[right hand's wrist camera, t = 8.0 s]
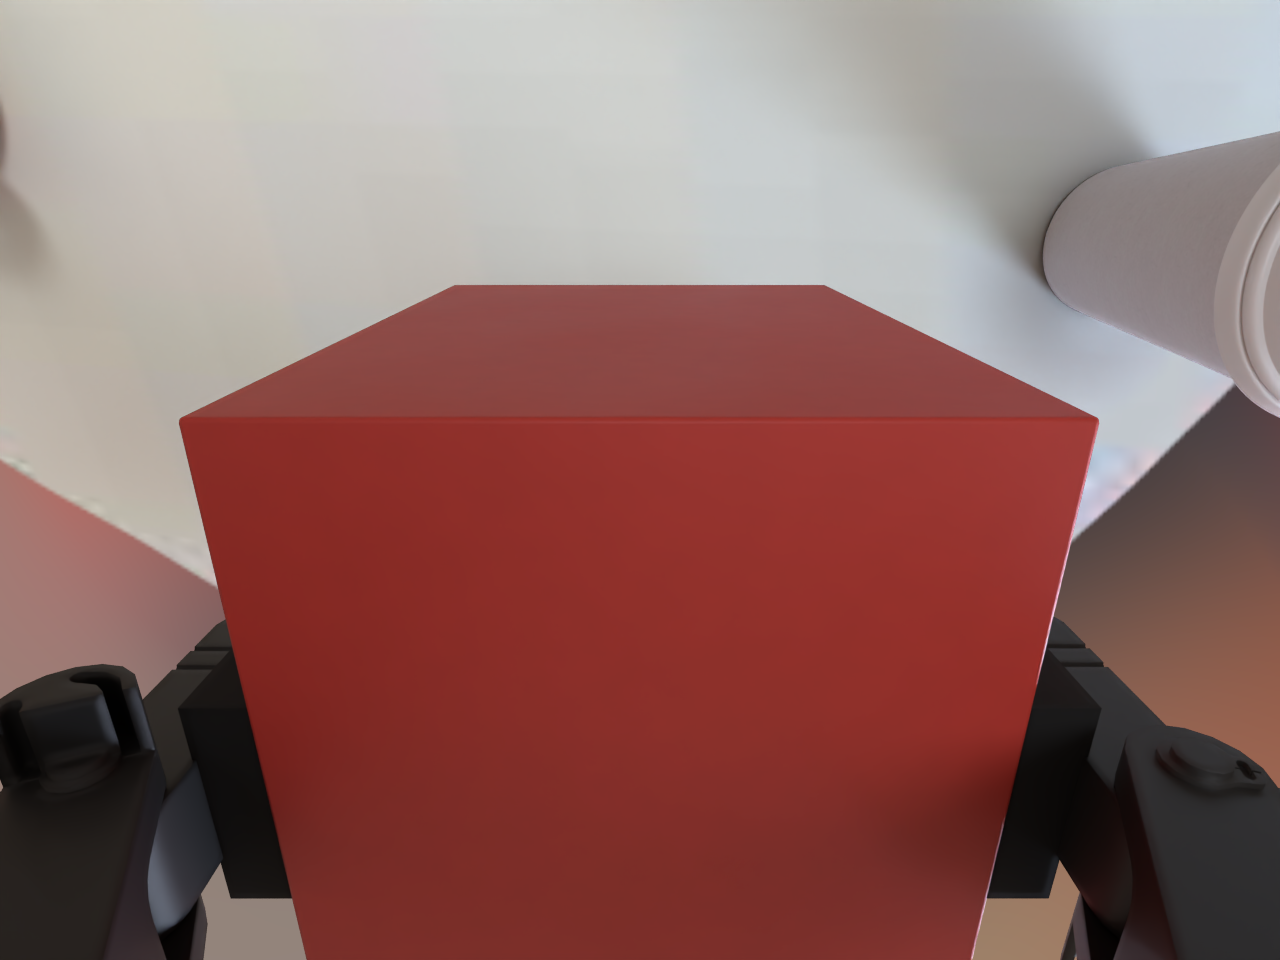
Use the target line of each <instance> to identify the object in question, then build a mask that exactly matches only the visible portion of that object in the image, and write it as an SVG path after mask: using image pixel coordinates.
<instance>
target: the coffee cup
mask: <svg viewBox="0 0 1280 960" xmlns="http://www.w3.org/2000/svg"><path fill="white" fill-rule="evenodd" d="M1043 266H1044V271H1045V275H1046V279H1047V281H1048V283H1049V286H1050V287H1051V289H1052V291H1053V292H1054V294H1055V295H1056V296H1057V297H1058V298H1059V299H1060V300H1061V301H1062V302H1063V303H1064V304H1066V305H1067V306H1069V307H1070V308H1072V309H1074V310H1076V311H1078V312H1081V313H1083V314H1085V315H1088V316H1090V317H1092V318H1094V319H1097V320H1099V321H1101V322H1104V323H1106V324H1108V325H1111V326H1113V327H1115V328H1118V329H1120V330H1122V331H1124V332H1127V333H1129V334H1131V335H1134V336H1136V337H1138V338H1141V339H1143V340H1145V341H1147V342H1150V343H1152V344H1154V345H1157V346H1159V347H1161V348H1163V349H1166V350H1168V351H1170V352H1173V353H1175V354H1177V355H1179V356H1182V357H1184V358H1186V359H1189V360H1191V361H1193V362H1195V363H1198V364H1200V365H1202V366H1204V367H1207V368H1209V369H1211V370H1213V371H1216V372H1218V373H1220V374H1222V375H1225V376H1227V377H1229V378H1231V379H1233V381H1234V382H1235V384H1236V385H1237V386H1238V388H1239V389H1240V390H1241V391H1242V392H1243V393H1244V394H1245V395H1246V396H1247V397H1248V398H1249V399H1250V400H1251V401H1253V402H1254V403H1255V404H1257V405H1258V406H1259V407H1261V408H1262V409H1264V410H1266V411H1267V412H1269V413H1271V414H1273V415H1275V416H1278V417H1280V132H1275V133H1270V134H1266V135H1261V136H1257V137H1252V138H1247V139H1243V140H1238V141H1233V142H1229V143H1224V144H1219V145H1215V146H1210V147H1205V148H1201V149H1196V150H1191V151H1186V152H1182V153H1177V154H1172V155H1168V156H1163V157H1158V158H1154V159H1149V160H1144V161H1139V162H1135V163H1130V164H1125V165H1121V166H1117V167H1113V168H1110V169H1107V170H1104V171H1102V172H1100V173H1097V174H1095V175H1094V176H1092V177H1090V178H1089V179H1087V180H1086V181H1084V182H1083V183H1082V184H1080V185H1079V186H1078V187H1077V188H1076V189H1074V190H1073V191H1072V192H1071V193H1070V194H1069V195H1068V197H1067V198H1066V199H1065V200H1064V201H1063V203H1062V204H1061V205H1060V207H1059V208H1058V210H1057V211H1056V213H1055V215H1054V217H1053V219H1052V221H1051V223H1050V225H1049V228H1048V230H1047V234H1046V237H1045V241H1044V248H1043Z"/></svg>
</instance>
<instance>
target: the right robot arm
mask: <svg viewBox="0 0 1280 960" xmlns="http://www.w3.org/2000/svg"><path fill="white" fill-rule="evenodd" d="M0 780H1V783H2V785H3V789H2V791H1V792H0V960H203V958H204V950H205V941H206V933H207V918H206V912H205V907H204V904H203V900H202V897H201V893H202V891H203V890H204V888H205V886H206V885H207V883H208V882H209V880H210V879H211V877H212V875H213V874H214V872H215V871H216V869H217V867H218V866H219V864H220V863H221V865H222V869H223V872H224V876H225V880H226V883H227V886H228V890H229V894H230V897H231V898H292V896H291V891H290V887H289V883H288V879H287V875H286V870H285V866H284V862H283V858H282V854H281V849H280V845H279V841H278V837H277V833H276V828H275V824H274V820H273V816H272V812H271V807H270V803H269V799H268V795H267V791H266V786H265V782H264V778H263V774H262V770H261V765H260V761H259V757H258V753H257V749H256V744H255V740H254V736H253V732H252V728H251V723H250V719H249V715H248V711H247V707H246V702H245V698H244V694H243V690H242V686H241V681H240V677H239V673H238V669H237V665H236V660H235V656H234V652H233V648H232V644H231V639H230V635H229V631H228V627H227V623H226V620H224V621H222V622H220V623H219V624H217V625H216V626H215V627H214V628H213V629H212V630H211V631H210V632H209V633H208V634H207V635H206V636H205V637H204V638H203V639H202V640H201V641H200V642H199V643H198V644H197V645H196V646H195V650H194V651H190V652H189V653H188V654H187V655H186V656H185V657H184V658H183V659H182V660H181V661H180V662H179V663H178V664H177V669H176V670H171V671H170V672H169V673H168V674H167V675H166V677H165V678H164V679H163V680H162V681H161V682H160V683H159V684H158V685H157V686H156V687H155V688H154V689H153V690H152V691H151V692H150V693H149V694H148V695H147V696H146V697H145V698H144V699H143V700H142V697H141V693H140V690H139V687H138V683H137V680H136V676H135V674H134V673H132V672H131V671H129V670H127V669H126V668H124V667H123V666H114V665H106V664H99V665H90V666H82V667H75V668H71V669H67V670H64V671H60V672H57V673H53V674H50V675H46V676H44V677H41V678H39V679H37V680H35V681H32V682H30V683H28V684H25V685H23V686H21V687H19V688H16V689H15V690H13V691H12V692H10V693H9V694H7V695H6V696H4V697H3V698H1V699H0ZM1059 860H1060V861H1061V863H1062V864H1063V866H1064V867H1065V869H1066V871H1067V872H1068V874H1069V875H1070V877H1071V879H1072V880H1073V882H1074V883H1075V885H1076V886H1077V888H1078V890H1079V891H1080V893H1079V897H1078V900H1077V903H1076V907H1075V910H1074V913H1073V917H1072V920H1071V923H1070V927H1069V930H1068V933H1067V937H1066V940H1065V943H1064V947H1063V950H1062V953H1061V959H1060V960H1074V958H1075V957H1076V956H1077V960H1280V788H1278V787H1277V786H1276V784H1275V783H1274V782H1273V781H1272V779H1271V778H1270V777H1269V776H1268V774H1267V773H1266V772H1265V770H1264V769H1263V768H1262V767H1261V766H1259V765H1258V764H1257V763H1255V762H1254V761H1253V760H1251V759H1250V758H1249V757H1247V756H1246V755H1245V754H1243V753H1242V752H1241V751H1239V750H1237V749H1235V748H1233V747H1231V746H1229V745H1227V744H1225V743H1223V742H1221V741H1219V740H1217V739H1215V738H1213V737H1210V736H1207V735H1204V734H1201V733H1198V732H1195V731H1192V730H1189V729H1186V728H1180V727H1172V726H1166V725H1165V724H1164V723H1163V722H1162V721H1161V720H1160V719H1159V718H1158V717H1157V716H1156V715H1155V714H1154V713H1153V712H1152V711H1151V710H1150V709H1149V708H1148V707H1147V706H1146V705H1145V704H1144V703H1143V702H1142V701H1141V700H1140V699H1139V698H1138V697H1137V696H1136V695H1135V694H1134V693H1133V692H1132V691H1131V690H1130V689H1129V688H1128V687H1127V686H1126V685H1125V684H1124V683H1123V682H1122V681H1121V680H1120V679H1119V678H1118V677H1117V676H1116V675H1115V674H1114V673H1113V672H1112V671H1111V670H1110V669H1109V668H1108V667H1104V665H1103V661H1102V660H1101V659H1100V658H1099V657H1098V656H1097V655H1096V654H1095V653H1094V652H1093V651H1092V650H1091V649H1089V648H1088V649H1087V648H1086V647H1085V643H1084V642H1083V641H1082V640H1081V639H1080V638H1079V637H1078V636H1077V635H1076V634H1075V633H1074V632H1073V631H1072V630H1071V629H1070V628H1069V627H1068V626H1067V625H1066V624H1065V623H1064V622H1062V621H1060V620H1059V619H1057V618H1055V617H1054V616H1053V620H1052V624H1051V628H1050V632H1049V637H1048V641H1047V645H1046V649H1045V654H1044V658H1043V662H1042V666H1041V670H1040V675H1039V679H1038V683H1037V687H1036V692H1035V696H1034V700H1033V704H1032V708H1031V713H1030V717H1029V721H1028V725H1027V730H1026V734H1025V738H1024V742H1023V746H1022V751H1021V755H1020V759H1019V763H1018V767H1017V772H1016V776H1015V780H1014V784H1013V789H1012V793H1011V797H1010V801H1009V805H1008V810H1007V814H1006V818H1005V822H1004V827H1003V831H1002V835H1001V839H1000V843H999V848H998V852H997V856H996V860H995V865H994V869H993V873H992V877H991V881H990V886H989V890H988V894H987V898H1049V895H1050V892H1051V888H1052V885H1053V881H1054V878H1055V874H1056V870H1057V867H1058V863H1059Z"/></svg>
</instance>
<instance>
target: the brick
mask: <svg viewBox="0 0 1280 960" xmlns="http://www.w3.org/2000/svg"><path fill="white" fill-rule="evenodd" d="M179 425H180V429H181V434H182V438H183V442H184V446H185V450H186V455H187V459H188V463H189V467H190V471H191V476H192V480H193V484H194V488H195V492H196V497H197V501H198V505H199V509H200V513H201V518H202V522H203V526H204V530H205V534H206V539H207V543H208V547H209V551H210V555H211V560H212V564H213V568H214V572H215V576H216V581H217V585H218V589H219V593H220V597H221V602H222V606H223V610H224V614H225V618H226V623H227V627H228V631H229V635H230V639H231V644H232V648H233V652H234V656H235V660H236V665H237V669H238V673H239V677H240V681H241V686H242V690H243V694H244V698H245V702H246V707H247V711H248V715H249V719H250V723H251V728H252V732H253V736H254V740H255V744H256V749H257V753H258V757H259V761H260V765H261V770H262V774H263V778H264V782H265V786H266V791H267V795H268V799H269V803H270V807H271V812H272V816H273V820H274V824H275V828H276V833H277V837H278V841H279V845H280V849H281V854H282V858H283V862H284V866H285V870H286V875H287V879H288V883H289V887H290V891H291V896H292V900H293V904H294V908H295V912H296V916H297V921H298V925H299V929H300V933H301V937H302V942H303V946H304V950H305V954H306V959H307V960H972V957H973V953H974V949H975V944H976V940H977V936H978V932H979V928H980V923H981V919H982V915H983V911H984V907H985V902H986V898H987V894H988V890H989V886H990V881H991V877H992V873H993V869H994V865H995V860H996V856H997V852H998V848H999V843H1000V839H1001V835H1002V831H1003V827H1004V822H1005V818H1006V814H1007V810H1008V805H1009V801H1010V797H1011V793H1012V789H1013V784H1014V780H1015V776H1016V772H1017V767H1018V763H1019V759H1020V755H1021V751H1022V746H1023V742H1024V738H1025V734H1026V730H1027V725H1028V721H1029V717H1030V713H1031V708H1032V704H1033V700H1034V696H1035V692H1036V687H1037V683H1038V679H1039V675H1040V670H1041V666H1042V662H1043V658H1044V654H1045V649H1046V645H1047V641H1048V637H1049V632H1050V628H1051V624H1052V620H1053V616H1054V611H1055V607H1056V603H1057V599H1058V595H1059V590H1060V586H1061V582H1062V578H1063V573H1064V569H1065V565H1066V561H1067V557H1068V552H1069V548H1070V544H1071V540H1072V535H1073V531H1074V527H1075V523H1076V519H1077V514H1078V510H1079V506H1080V502H1081V498H1082V493H1083V489H1084V485H1085V481H1086V476H1087V472H1088V468H1089V464H1090V460H1091V455H1092V451H1093V447H1094V443H1095V438H1096V434H1097V430H1098V426H1099V420H1098V418H1097V417H1094V416H1092V415H1090V414H1088V413H1086V412H1084V411H1082V410H1080V409H1078V408H1076V407H1074V406H1072V405H1070V404H1068V403H1066V402H1064V401H1062V400H1059V399H1057V398H1055V397H1053V396H1051V395H1049V394H1047V393H1045V392H1043V391H1041V390H1039V389H1037V388H1035V387H1033V386H1031V385H1029V384H1027V383H1025V382H1022V381H1020V380H1018V379H1016V378H1014V377H1012V376H1010V375H1008V374H1006V373H1004V372H1002V371H1000V370H998V369H996V368H994V367H992V366H990V365H987V364H985V363H983V362H981V361H979V360H977V359H975V358H973V357H971V356H969V355H967V354H965V353H963V352H961V351H959V350H957V349H955V348H953V347H950V346H948V345H946V344H944V343H942V342H940V341H938V340H936V339H934V338H932V337H930V336H928V335H926V334H924V333H922V332H920V331H918V330H915V329H913V328H911V327H909V326H907V325H905V324H903V323H901V322H899V321H897V320H895V319H893V318H891V317H889V316H887V315H885V314H883V313H881V312H878V311H876V310H874V309H872V308H870V307H868V306H866V305H864V304H862V303H860V302H858V301H856V300H854V299H852V298H850V297H848V296H846V295H843V294H841V293H839V292H837V291H835V290H833V289H831V288H829V287H827V286H825V285H454V286H452V287H450V288H448V289H446V290H444V291H442V292H440V293H438V294H436V295H434V296H432V297H429V298H427V299H425V300H423V301H421V302H419V303H417V304H415V305H413V306H411V307H409V308H407V309H405V310H403V311H401V312H399V313H396V314H394V315H392V316H390V317H388V318H386V319H384V320H382V321H380V322H378V323H376V324H374V325H372V326H370V327H368V328H365V329H363V330H361V331H359V332H357V333H355V334H353V335H351V336H349V337H347V338H345V339H343V340H341V341H339V342H337V343H335V344H332V345H330V346H328V347H326V348H324V349H322V350H320V351H318V352H316V353H314V354H312V355H310V356H308V357H306V358H304V359H302V360H299V361H297V362H295V363H293V364H291V365H289V366H287V367H285V368H283V369H281V370H279V371H277V372H275V373H273V374H271V375H268V376H266V377H264V378H262V379H260V380H258V381H256V382H254V383H252V384H250V385H248V386H246V387H244V388H242V389H240V390H238V391H235V392H233V393H231V394H229V395H227V396H225V397H223V398H221V399H219V400H217V401H215V402H213V403H211V404H209V405H207V406H205V407H202V408H200V409H198V410H196V411H194V412H192V413H190V414H188V415H186V416H184V417H182V418H180V420H179Z"/></svg>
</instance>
